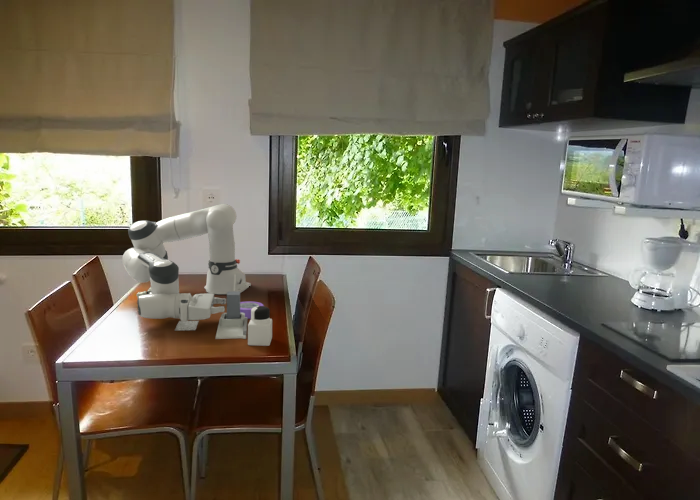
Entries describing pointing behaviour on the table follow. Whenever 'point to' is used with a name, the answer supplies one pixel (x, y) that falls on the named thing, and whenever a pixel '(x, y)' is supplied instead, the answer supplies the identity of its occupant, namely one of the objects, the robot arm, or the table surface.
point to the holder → (232, 327)
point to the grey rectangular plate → (186, 325)
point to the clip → (233, 305)
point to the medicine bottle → (260, 327)
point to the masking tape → (248, 307)
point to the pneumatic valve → (143, 292)
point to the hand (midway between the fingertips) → (225, 305)
